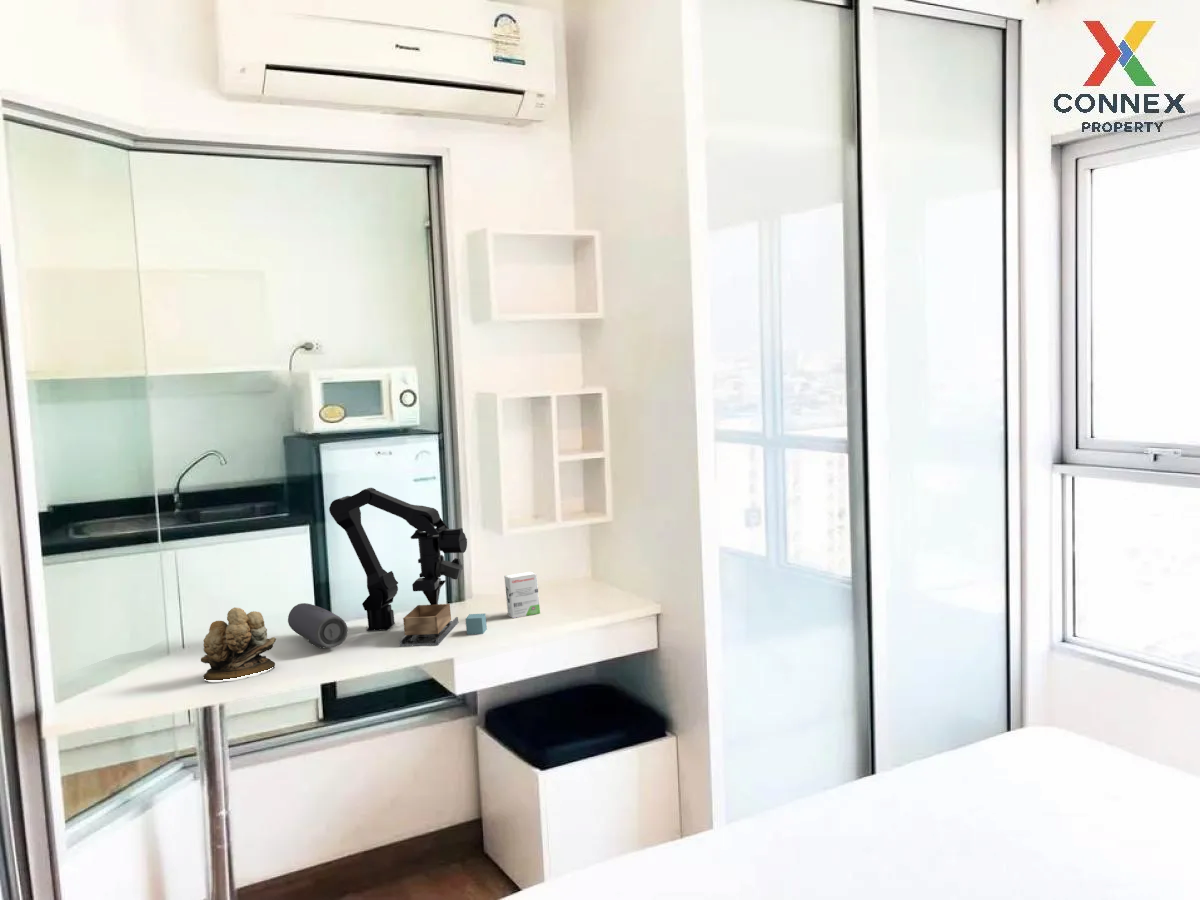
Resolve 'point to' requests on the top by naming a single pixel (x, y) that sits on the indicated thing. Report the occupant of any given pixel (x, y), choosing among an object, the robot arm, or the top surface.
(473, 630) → the part block
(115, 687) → the top surface
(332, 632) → the bluetooth speaker
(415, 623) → the wooden drawer
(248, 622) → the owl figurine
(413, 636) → the track
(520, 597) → the ink box
